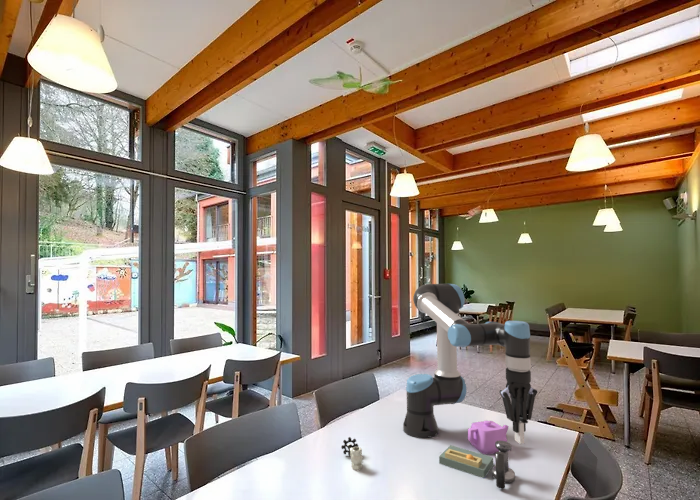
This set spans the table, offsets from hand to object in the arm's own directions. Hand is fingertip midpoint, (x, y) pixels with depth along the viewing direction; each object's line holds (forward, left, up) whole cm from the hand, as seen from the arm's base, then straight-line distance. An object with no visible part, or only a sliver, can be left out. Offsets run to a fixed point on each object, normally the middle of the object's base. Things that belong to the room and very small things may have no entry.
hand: (519, 441), depth 117 cm
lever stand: (-19, +3, -14) cm, 24 cm away
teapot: (-16, +21, -14) cm, 30 cm away
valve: (-53, -20, -14) cm, 58 cm away
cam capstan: (-5, -1, -14) cm, 15 cm away
